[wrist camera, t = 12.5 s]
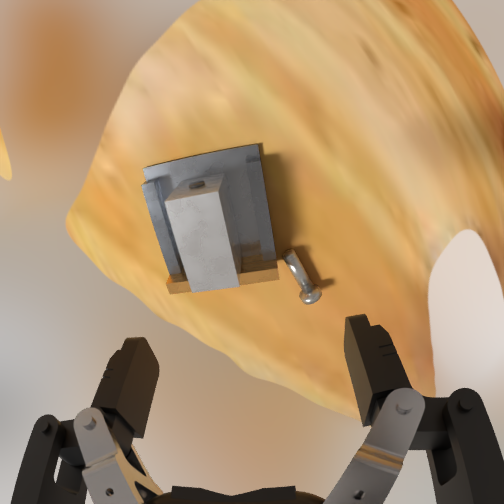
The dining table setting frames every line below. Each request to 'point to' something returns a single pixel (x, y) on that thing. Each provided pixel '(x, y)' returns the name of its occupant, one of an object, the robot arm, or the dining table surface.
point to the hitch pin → (302, 278)
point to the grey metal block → (206, 232)
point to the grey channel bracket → (243, 204)
